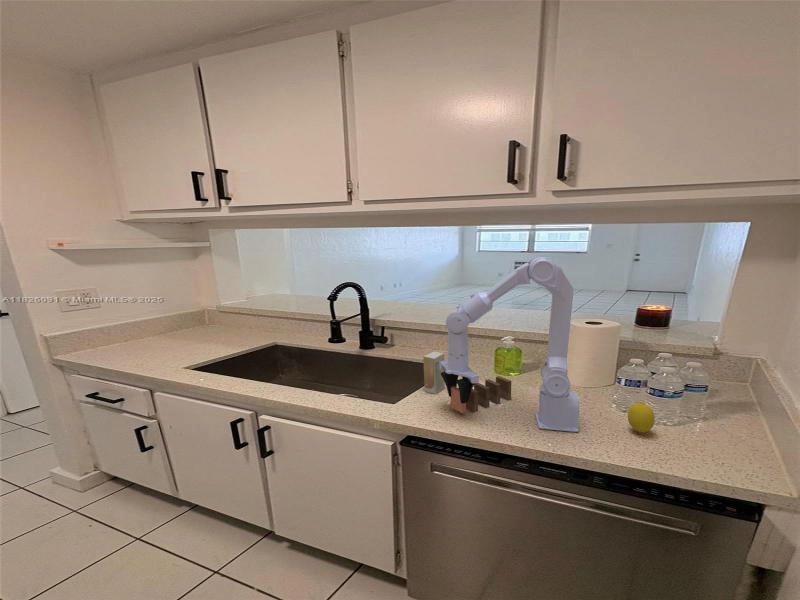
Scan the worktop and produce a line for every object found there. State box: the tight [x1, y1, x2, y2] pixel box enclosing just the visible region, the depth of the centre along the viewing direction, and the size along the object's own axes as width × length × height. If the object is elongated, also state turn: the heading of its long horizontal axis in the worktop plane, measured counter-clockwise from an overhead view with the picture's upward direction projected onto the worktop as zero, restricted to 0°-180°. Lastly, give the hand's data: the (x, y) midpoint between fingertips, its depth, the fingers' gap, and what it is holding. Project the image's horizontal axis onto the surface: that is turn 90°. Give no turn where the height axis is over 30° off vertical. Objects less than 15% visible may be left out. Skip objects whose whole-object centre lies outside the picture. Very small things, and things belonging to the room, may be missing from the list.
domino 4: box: [484, 378, 502, 405], centre depth 110 cm, size 1×5×6 cm, turn 31°
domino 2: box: [466, 388, 479, 413], centre depth 106 cm, size 1×5×6 cm, turn 31°
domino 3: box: [473, 382, 491, 409], centre depth 108 cm, size 1×5×6 cm, turn 31°
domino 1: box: [450, 386, 467, 414], centre depth 103 cm, size 1×5×6 cm, turn 31°
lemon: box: [627, 401, 656, 434], centre depth 90 cm, size 6×6×8 cm
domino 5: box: [495, 375, 512, 402], centre depth 112 cm, size 1×5×6 cm, turn 31°
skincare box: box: [423, 351, 446, 395], centre depth 119 cm, size 6×4×12 cm
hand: (458, 399), depth 103 cm, fingers closed on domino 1, 5 cm apart
